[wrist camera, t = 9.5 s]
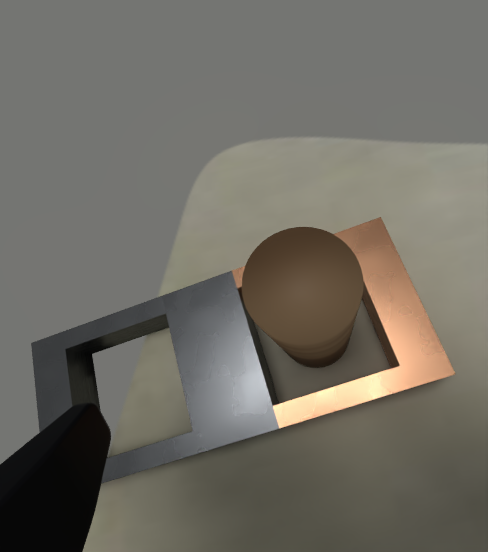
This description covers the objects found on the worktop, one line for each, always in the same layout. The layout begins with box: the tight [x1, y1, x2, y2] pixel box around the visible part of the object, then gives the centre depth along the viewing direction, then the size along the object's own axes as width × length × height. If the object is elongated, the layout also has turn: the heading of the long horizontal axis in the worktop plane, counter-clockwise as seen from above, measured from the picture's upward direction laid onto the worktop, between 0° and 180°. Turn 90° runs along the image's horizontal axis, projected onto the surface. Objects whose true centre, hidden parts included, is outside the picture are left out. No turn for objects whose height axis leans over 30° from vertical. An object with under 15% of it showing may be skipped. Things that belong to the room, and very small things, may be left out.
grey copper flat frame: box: [31, 217, 455, 483], centre depth 20 cm, size 8×20×2 cm, turn 106°
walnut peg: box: [242, 227, 363, 368], centre depth 16 cm, size 4×4×10 cm
